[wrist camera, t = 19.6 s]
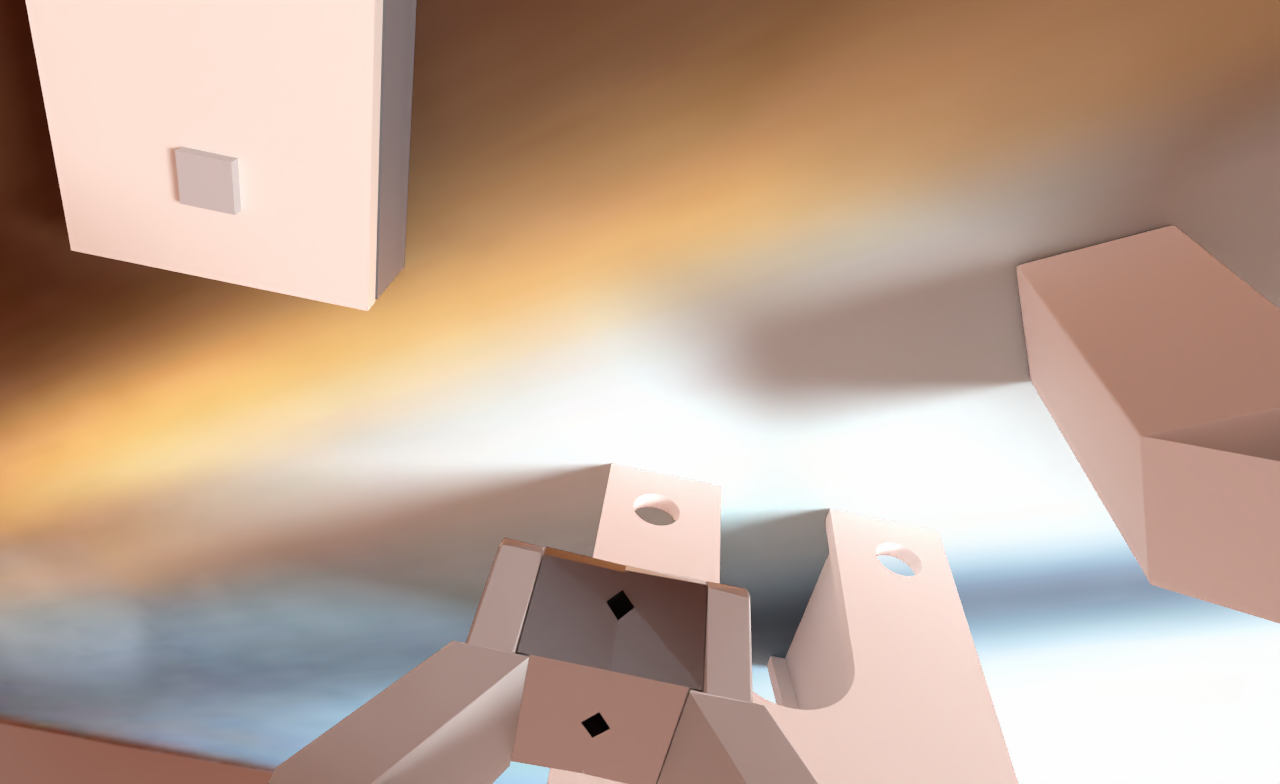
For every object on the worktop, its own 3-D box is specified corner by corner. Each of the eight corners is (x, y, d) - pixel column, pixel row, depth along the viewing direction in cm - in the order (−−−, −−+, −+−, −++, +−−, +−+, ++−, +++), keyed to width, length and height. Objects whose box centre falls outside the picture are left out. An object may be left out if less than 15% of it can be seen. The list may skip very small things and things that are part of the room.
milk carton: (1030, 382, 45) (1199, 669, 29) (1014, 263, 41) (1194, 512, 25) (1176, 349, 43) (1444, 635, 27) (1172, 221, 40) (1475, 461, 24)
